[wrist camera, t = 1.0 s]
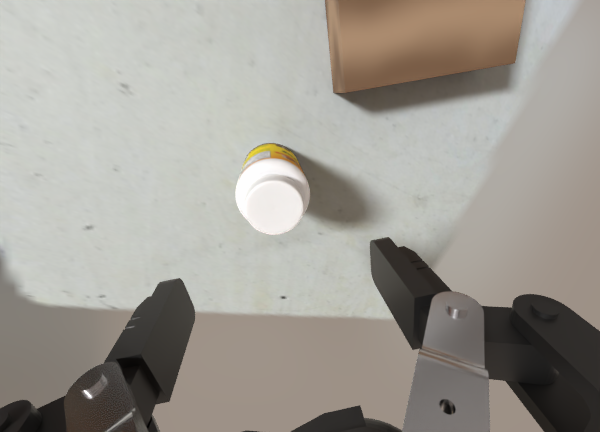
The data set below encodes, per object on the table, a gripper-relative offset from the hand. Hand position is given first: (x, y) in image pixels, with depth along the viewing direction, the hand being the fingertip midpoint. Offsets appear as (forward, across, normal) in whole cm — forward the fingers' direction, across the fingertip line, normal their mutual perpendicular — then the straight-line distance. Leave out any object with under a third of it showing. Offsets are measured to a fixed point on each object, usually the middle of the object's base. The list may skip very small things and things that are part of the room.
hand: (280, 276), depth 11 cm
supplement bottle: (+18, 0, 0) cm, 18 cm away
